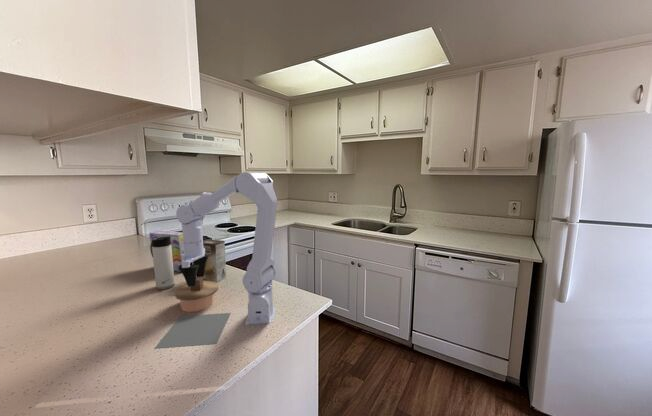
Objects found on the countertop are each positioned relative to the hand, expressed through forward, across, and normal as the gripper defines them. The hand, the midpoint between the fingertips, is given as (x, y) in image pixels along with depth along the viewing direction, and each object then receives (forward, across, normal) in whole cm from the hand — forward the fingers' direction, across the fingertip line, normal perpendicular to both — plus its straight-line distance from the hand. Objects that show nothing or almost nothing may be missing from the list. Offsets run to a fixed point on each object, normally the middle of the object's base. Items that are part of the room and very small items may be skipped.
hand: (196, 281), depth 87 cm
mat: (+8, +15, +5) cm, 18 cm away
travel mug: (+9, -17, -18) cm, 26 cm away
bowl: (+8, 0, 0) cm, 8 cm away
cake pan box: (+9, -37, -25) cm, 45 cm away
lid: (+3, 0, 0) cm, 4 cm away
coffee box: (+9, -23, -2) cm, 25 cm away
